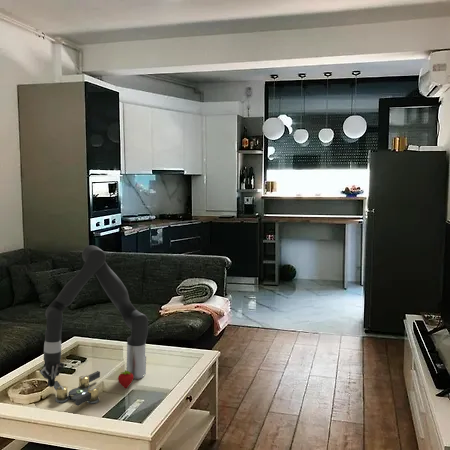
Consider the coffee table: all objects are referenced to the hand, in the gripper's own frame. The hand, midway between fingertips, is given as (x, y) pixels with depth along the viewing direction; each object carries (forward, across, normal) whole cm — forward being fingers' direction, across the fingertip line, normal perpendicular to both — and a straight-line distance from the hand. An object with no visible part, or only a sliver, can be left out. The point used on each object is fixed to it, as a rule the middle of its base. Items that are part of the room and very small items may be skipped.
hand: (51, 386), depth 229 cm
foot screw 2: (+3, +2, -20) cm, 21 cm away
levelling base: (+4, +6, -14) cm, 16 cm away
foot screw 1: (+3, 0, -5) cm, 6 cm away
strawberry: (+3, +24, -24) cm, 34 cm away
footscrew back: (+2, +16, -8) cm, 18 cm away
